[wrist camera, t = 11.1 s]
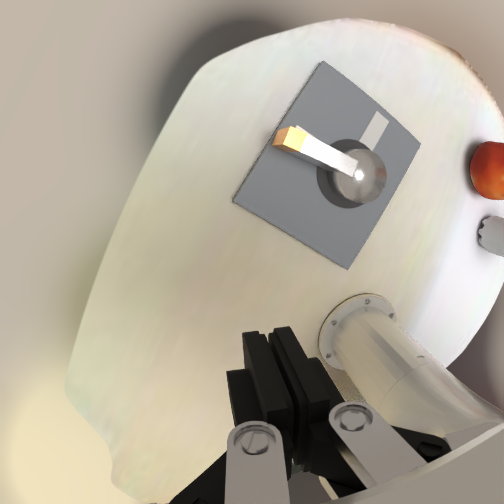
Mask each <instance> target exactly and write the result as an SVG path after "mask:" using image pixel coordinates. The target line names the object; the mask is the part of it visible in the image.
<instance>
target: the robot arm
mask: <svg viewBox="0 0 504 504" xmlns="http://www.w3.org/2000/svg"><path fill="white" fill-rule="evenodd" d="M242 338H243V351H244V364H245V369H240V370H232V371H226V373H227V381H228V389H229V396H230V403H231V408H232V414H233V419H234V425H235V428H234V429H233V430H232V431H231V432H230V434H229V436H228V440H227V451H226V452H225V453H224V454H223V455H222V456H221V457H220V458H219V459H217V460H216V461H215V462H214V463H213V464H212V465H211V466H210V467H209V468H208V469H206V470H205V471H204V472H203V473H202V474H201V475H200V476H199V477H198V478H196V479H195V480H194V481H193V482H192V483H191V484H189V485H188V486H187V487H186V488H185V489H184V490H182V491H181V492H180V493H179V494H178V495H176V496H175V497H174V498H173V499H172V500H171V501H170V503H167V504H290V500H289V492H288V484H287V481H288V480H289V479H290V478H291V467H292V458H293V461H294V464H295V465H301V467H302V470H303V472H308V471H310V472H311V473H313V474H316V475H318V476H319V479H320V481H321V484H322V485H323V487H324V488H325V490H326V491H327V493H328V494H329V496H330V497H331V499H332V501H329V502H325V503H321V504H504V412H502V411H501V410H499V409H498V408H496V407H495V406H493V405H491V404H490V403H488V402H487V401H485V400H484V399H482V398H481V397H479V396H478V395H476V394H475V393H474V392H472V391H471V390H470V389H469V388H467V387H466V386H465V385H464V384H463V383H461V382H460V381H459V380H458V379H457V378H456V377H454V376H453V375H452V374H451V373H450V372H449V371H448V370H447V369H446V368H445V367H444V366H443V365H441V364H440V363H439V362H438V361H437V360H436V359H435V358H434V357H433V356H432V355H431V354H429V353H428V352H427V351H426V350H425V349H424V348H423V347H422V346H421V345H420V344H418V343H417V342H416V341H415V340H414V339H413V338H412V337H411V336H410V335H408V334H407V333H406V332H405V331H404V330H403V329H402V328H401V327H400V326H398V325H397V324H396V315H395V312H394V309H393V307H392V306H391V304H390V303H389V302H387V301H386V300H385V299H384V298H382V297H380V296H378V295H374V294H363V295H358V296H355V297H352V298H350V299H348V300H346V301H344V302H343V303H342V304H340V305H339V306H338V307H337V308H336V309H335V310H334V311H333V312H332V313H331V314H330V315H329V316H328V318H327V319H326V321H325V323H324V325H323V326H322V329H321V332H320V336H319V349H320V353H321V355H322V357H323V358H324V360H325V361H326V362H327V364H329V365H330V366H331V367H333V368H336V369H338V370H345V372H346V373H347V374H348V376H349V377H350V379H351V380H352V382H353V383H354V385H355V386H356V387H357V389H358V390H359V392H360V393H361V395H362V396H363V398H364V399H365V401H366V402H367V404H366V403H363V402H359V401H347V402H345V401H344V399H343V398H342V396H341V394H340V393H339V391H338V389H337V388H336V386H335V385H334V383H333V381H332V380H331V378H330V376H329V375H328V373H327V371H326V370H325V368H324V367H323V365H322V363H321V362H320V360H319V359H318V358H317V357H314V358H309V359H308V358H307V356H306V354H305V353H304V351H303V349H302V347H301V345H300V344H299V342H298V340H297V338H296V336H295V335H294V333H293V331H292V329H291V328H290V326H287V327H281V328H274V330H273V333H269V335H268V341H267V338H266V336H265V334H259V332H258V331H252V332H244V333H242ZM268 342H269V343H268ZM151 504H157V503H151Z"/></svg>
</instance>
